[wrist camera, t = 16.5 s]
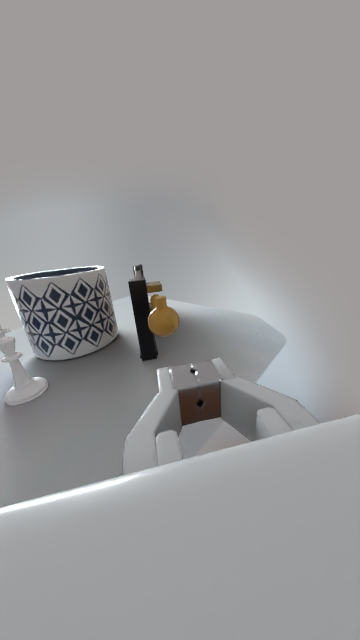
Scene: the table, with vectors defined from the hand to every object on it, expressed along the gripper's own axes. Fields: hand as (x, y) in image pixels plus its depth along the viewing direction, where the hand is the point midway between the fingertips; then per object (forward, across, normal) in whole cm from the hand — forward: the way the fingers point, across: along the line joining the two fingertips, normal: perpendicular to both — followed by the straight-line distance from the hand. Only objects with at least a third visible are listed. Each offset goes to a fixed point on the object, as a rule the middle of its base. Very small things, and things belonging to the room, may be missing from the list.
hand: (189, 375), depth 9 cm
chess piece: (+19, +19, +12) cm, 29 cm away
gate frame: (+36, +1, +12) cm, 38 cm away
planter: (+34, +16, +12) cm, 39 cm away
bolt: (+16, 0, +3) cm, 16 cm away
